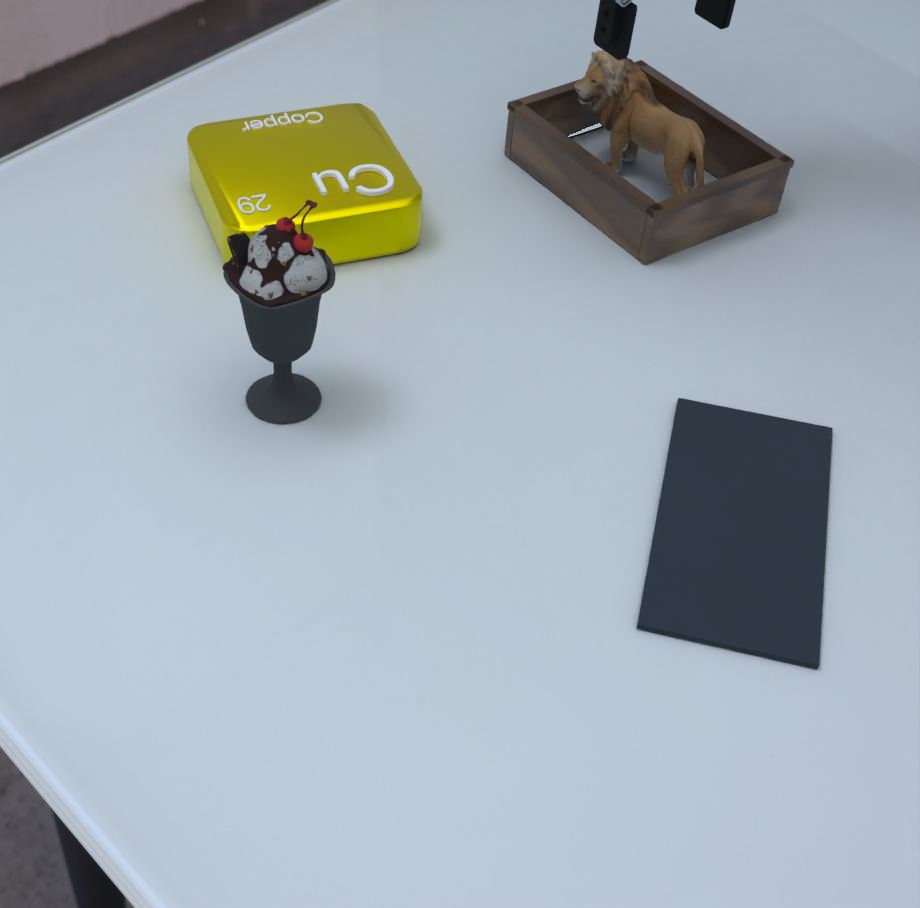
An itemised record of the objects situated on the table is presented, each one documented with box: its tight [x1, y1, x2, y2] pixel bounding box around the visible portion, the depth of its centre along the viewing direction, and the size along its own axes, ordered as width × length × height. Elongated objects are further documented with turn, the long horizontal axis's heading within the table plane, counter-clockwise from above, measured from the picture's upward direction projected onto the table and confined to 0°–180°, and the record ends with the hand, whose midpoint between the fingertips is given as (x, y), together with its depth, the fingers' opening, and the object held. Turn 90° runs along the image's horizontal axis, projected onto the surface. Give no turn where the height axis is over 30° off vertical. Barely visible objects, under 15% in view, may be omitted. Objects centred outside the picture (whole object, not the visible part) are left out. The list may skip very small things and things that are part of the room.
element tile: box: [186, 102, 423, 265], centre depth 99 cm, size 15×15×5 cm
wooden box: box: [503, 59, 795, 266], centre depth 103 cm, size 14×18×5 cm
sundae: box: [221, 200, 337, 425], centre depth 80 cm, size 7×7×15 cm
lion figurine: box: [574, 49, 705, 196], centre depth 101 cm, size 15×5×9 cm, turn 43°
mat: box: [636, 397, 834, 670], centre depth 79 cm, size 20×10×1 cm, turn 165°
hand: (661, 35), depth 95 cm, fingers open, 9 cm apart
